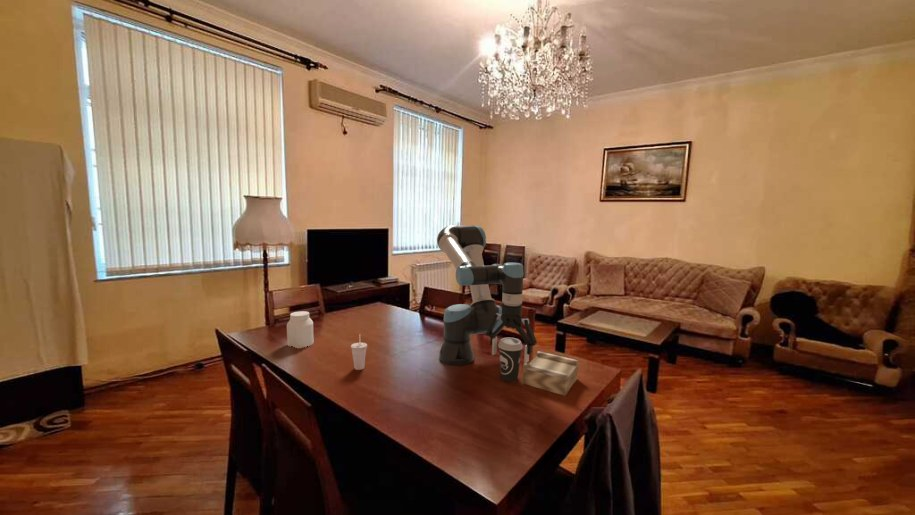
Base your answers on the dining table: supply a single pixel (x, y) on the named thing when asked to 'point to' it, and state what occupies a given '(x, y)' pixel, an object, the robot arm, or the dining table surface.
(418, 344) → the dining table surface
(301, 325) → the jar
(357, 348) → the smoothie
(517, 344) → the coffee cup
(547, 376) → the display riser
